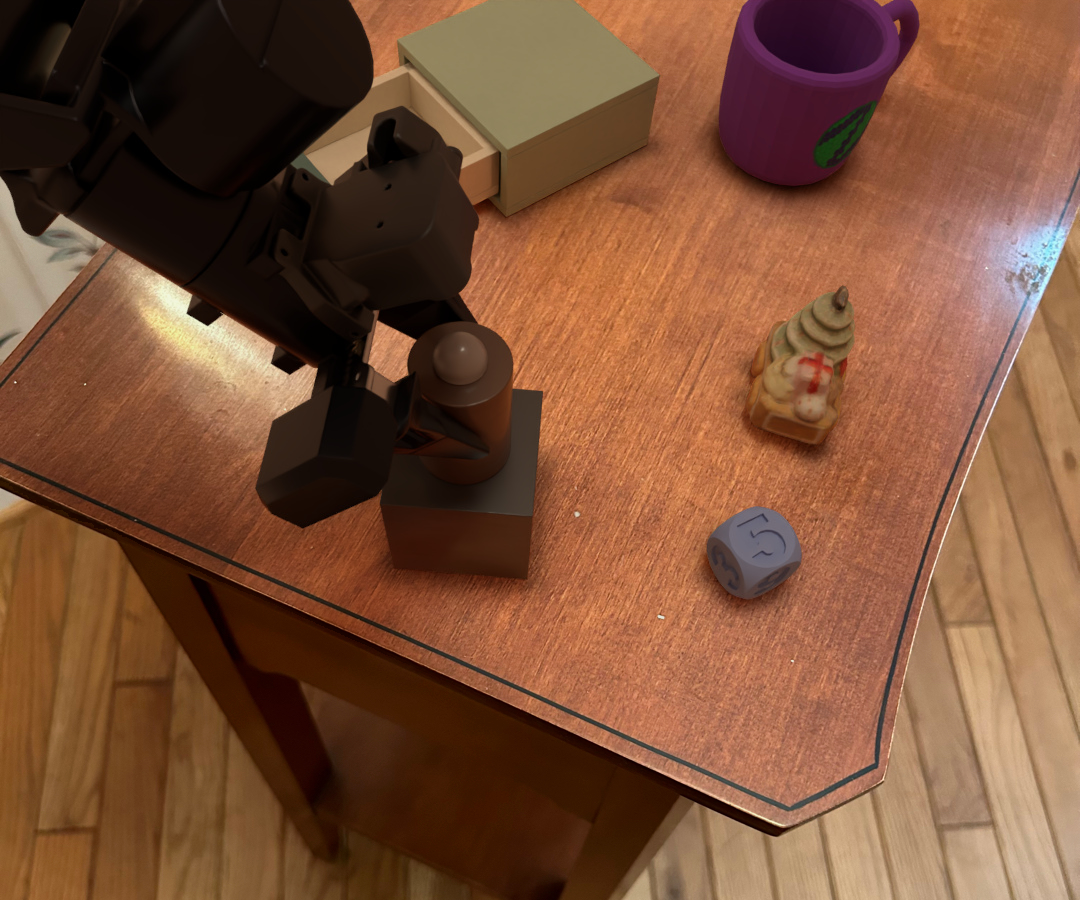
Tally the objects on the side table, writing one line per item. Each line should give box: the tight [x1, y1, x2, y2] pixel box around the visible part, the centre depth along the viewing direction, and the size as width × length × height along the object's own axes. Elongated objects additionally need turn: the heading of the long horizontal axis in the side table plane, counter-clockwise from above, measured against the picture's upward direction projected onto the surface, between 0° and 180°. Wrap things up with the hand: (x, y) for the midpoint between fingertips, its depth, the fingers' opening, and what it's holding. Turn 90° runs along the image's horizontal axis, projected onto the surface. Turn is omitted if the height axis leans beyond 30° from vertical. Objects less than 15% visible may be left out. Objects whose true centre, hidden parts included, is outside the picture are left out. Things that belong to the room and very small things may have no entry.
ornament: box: [745, 285, 856, 446], centre depth 58 cm, size 8×6×10 cm
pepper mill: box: [406, 321, 515, 485], centre depth 47 cm, size 5×5×9 cm
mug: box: [718, 0, 921, 187], centre depth 70 cm, size 17×11×10 cm, turn 124°
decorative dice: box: [705, 505, 803, 600], centre depth 55 cm, size 4×4×4 cm
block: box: [378, 387, 544, 580], centre depth 54 cm, size 8×8×8 cm
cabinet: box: [396, 0, 661, 218], centre depth 71 cm, size 14×14×6 cm
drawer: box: [291, 62, 499, 206], centre depth 66 cm, size 16×12×4 cm
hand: (489, 410), depth 47 cm, fingers closed on pepper mill, 5 cm apart
